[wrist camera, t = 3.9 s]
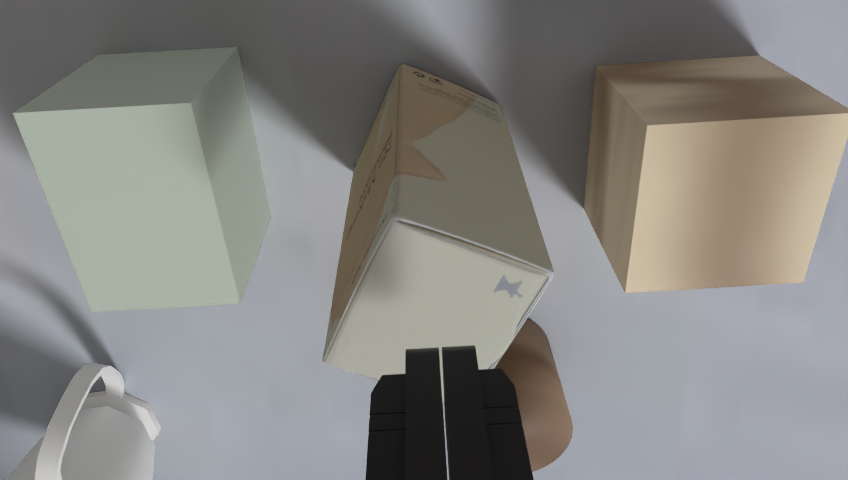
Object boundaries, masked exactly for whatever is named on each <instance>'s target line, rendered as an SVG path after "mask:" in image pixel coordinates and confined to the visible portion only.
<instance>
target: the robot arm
mask: <svg viewBox="0 0 848 480" xmlns="http://www.w3.org/2000/svg"><path fill="white" fill-rule="evenodd" d="M442 364H443V385H444V405H445V422H446V437H447V452H448V467H449V480H533V475H532V470H531V465H530V460H529V455H528V450H527V445H526V440H525V435H524V430H523V426H522V420H521V415H520V410H519V404H518V399H517V394H516V389H515V385H514V384H513V383H512V381H511V380H510V379H509V377H508V376H507V375H506V374H505V372H504V371H503V370H502V369H501V368H499V369H481V370H479V369H478V361H477V354H476V348H475V345H471V346H452V347H442ZM366 480H447V467H446V452H445V436H444V420H443V405H442V389H441V374H440V358H439V347H437V348H419V349H406V352H405V374H392V375H382V376H381V378H380V379H379V381H378V383H377V385H376V386H375V388H374V390H373V391H372V393H371V404H370V420H369V436H368V452H367V468H366Z"/></svg>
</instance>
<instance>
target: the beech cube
mask: <svg viewBox="0 0 848 480" xmlns="http://www.w3.org/2000/svg"><path fill="white" fill-rule="evenodd" d="M847 137H848V108H846V107H845V106H843V105H841V104H840V103H838V102H836V101H835V100H833V99H831V98H830V97H828V96H826V95H825V94H823V93H821V92H820V91H818V90H816V89H815V88H813V87H811V86H810V85H808V84H806V83H805V82H803V81H801V80H800V79H798V78H796V77H795V76H793V75H791V74H790V73H788V72H786V71H785V70H783V69H781V68H780V67H778V66H776V65H775V64H773V63H771V62H770V61H768V60H766V59H765V58H763V57H761V56H760V55H756V56H740V57H724V58H708V59H692V60H676V61H659V62H643V63H627V64H611V65H596V68H595V80H594V92H593V104H592V116H591V128H590V140H589V153H588V165H587V177H586V189H585V201H584V210H585V212H586V214H587V216H588V218H589V220H590V222H591V224H592V226H593V228H594V231H595V233H596V235H597V237H598V239H599V241H600V243H601V245H602V247H603V249H604V251H605V253H606V255H607V257H608V259H609V261H610V263H611V265H612V267H613V269H614V271H615V273H616V275H617V277H618V279H619V282H620V284H621V286H622V288H623V290H624V292H625V293H635V292H652V291H668V290H685V289H702V288H718V287H735V286H752V285H768V284H785V283H802V282H804V278H805V275H806V272H807V269H808V265H809V262H810V259H811V255H812V252H813V249H814V246H815V242H816V239H817V236H818V232H819V229H820V226H821V223H822V219H823V216H824V213H825V210H826V206H827V203H828V200H829V196H830V193H831V190H832V187H833V183H834V180H835V177H836V173H837V170H838V167H839V164H840V160H841V157H842V154H843V151H844V147H845V144H846V141H847Z"/></svg>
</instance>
